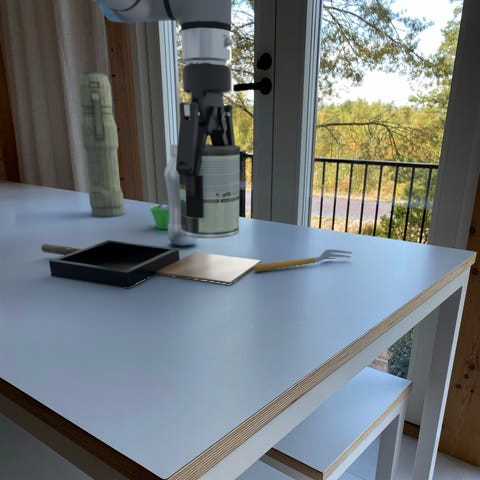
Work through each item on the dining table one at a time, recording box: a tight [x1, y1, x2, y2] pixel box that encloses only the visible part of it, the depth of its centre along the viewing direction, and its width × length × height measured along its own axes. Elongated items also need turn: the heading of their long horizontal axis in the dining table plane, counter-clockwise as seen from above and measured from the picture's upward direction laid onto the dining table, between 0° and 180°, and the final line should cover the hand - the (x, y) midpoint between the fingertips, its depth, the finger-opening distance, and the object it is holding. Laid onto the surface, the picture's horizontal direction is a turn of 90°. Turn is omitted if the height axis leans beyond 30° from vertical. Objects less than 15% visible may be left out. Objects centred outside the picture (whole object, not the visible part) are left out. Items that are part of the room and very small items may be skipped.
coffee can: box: [177, 143, 241, 239], centre depth 80 cm, size 10×10×14 cm
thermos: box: [78, 71, 125, 218], centre depth 125 cm, size 9×12×35 cm
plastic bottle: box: [163, 144, 199, 247], centre depth 97 cm, size 6×7×20 cm
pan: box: [40, 239, 180, 289], centre depth 86 cm, size 25×16×3 cm, turn 67°
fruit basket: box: [149, 192, 169, 230], centre depth 115 cm, size 11×9×11 cm
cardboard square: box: [156, 251, 262, 284], centre depth 85 cm, size 14×14×1 cm
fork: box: [253, 248, 353, 273], centre depth 87 cm, size 2×2×20 cm
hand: (210, 211), depth 81 cm, fingers closed on coffee can, 10 cm apart
